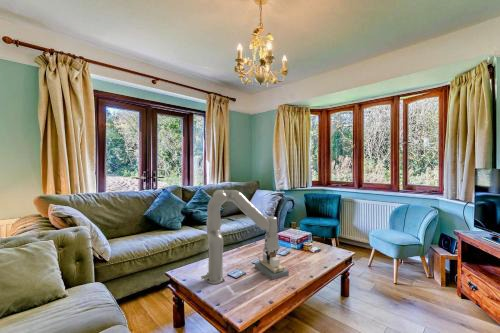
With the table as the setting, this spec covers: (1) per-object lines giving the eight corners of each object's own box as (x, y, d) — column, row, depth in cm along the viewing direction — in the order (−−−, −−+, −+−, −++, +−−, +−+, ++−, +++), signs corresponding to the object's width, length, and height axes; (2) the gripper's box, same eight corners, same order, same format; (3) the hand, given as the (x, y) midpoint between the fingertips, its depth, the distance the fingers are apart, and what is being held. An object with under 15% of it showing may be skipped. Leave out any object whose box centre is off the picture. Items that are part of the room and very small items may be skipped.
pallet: (274, 272, 155) (274, 259, 155) (258, 261, 173) (259, 249, 173) (284, 270, 159) (284, 256, 159) (267, 259, 177) (268, 247, 177)
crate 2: (273, 267, 159) (273, 260, 159) (269, 264, 163) (269, 257, 163) (279, 266, 161) (279, 259, 161) (275, 263, 166) (275, 256, 165)
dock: (272, 281, 153) (272, 275, 153) (255, 268, 172) (255, 262, 172) (288, 276, 160) (288, 270, 160) (270, 264, 179) (270, 259, 179)
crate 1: (266, 262, 167) (266, 255, 167) (262, 260, 171) (263, 253, 171) (272, 261, 169) (272, 254, 169) (268, 258, 173) (268, 252, 173)
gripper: (264, 237, 158) (264, 263, 158) (284, 233, 167) (283, 258, 167) (258, 234, 165) (258, 259, 165) (277, 231, 173) (277, 255, 173)
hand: (271, 258), depth 166 cm, fingers closed on pallet, 4 cm apart
